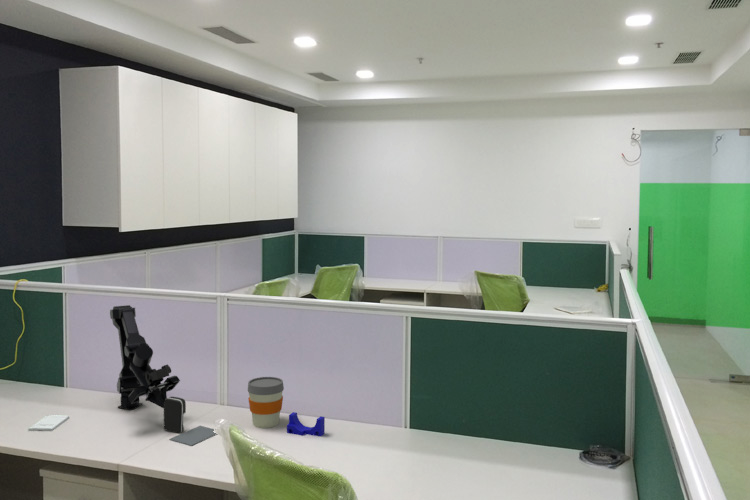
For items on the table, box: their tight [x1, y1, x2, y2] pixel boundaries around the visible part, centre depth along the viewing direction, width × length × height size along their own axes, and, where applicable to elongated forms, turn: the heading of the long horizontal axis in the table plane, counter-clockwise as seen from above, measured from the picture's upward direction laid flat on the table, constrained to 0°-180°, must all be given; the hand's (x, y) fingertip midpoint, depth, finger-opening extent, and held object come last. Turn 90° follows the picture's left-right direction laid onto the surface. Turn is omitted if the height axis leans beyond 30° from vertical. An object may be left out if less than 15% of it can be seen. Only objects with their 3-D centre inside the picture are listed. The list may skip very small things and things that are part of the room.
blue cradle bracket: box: [286, 411, 326, 437], centre depth 224 cm, size 12×4×6 cm, turn 69°
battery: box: [163, 396, 187, 434], centre depth 225 cm, size 7×4×11 cm, turn 73°
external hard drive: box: [27, 414, 70, 432], centre depth 230 cm, size 2×8×12 cm
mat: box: [168, 425, 217, 447], centre depth 221 cm, size 10×14×1 cm
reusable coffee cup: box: [247, 376, 284, 429], centre depth 233 cm, size 13×13×15 cm
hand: (167, 408), depth 226 cm, fingers closed, pressing on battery
